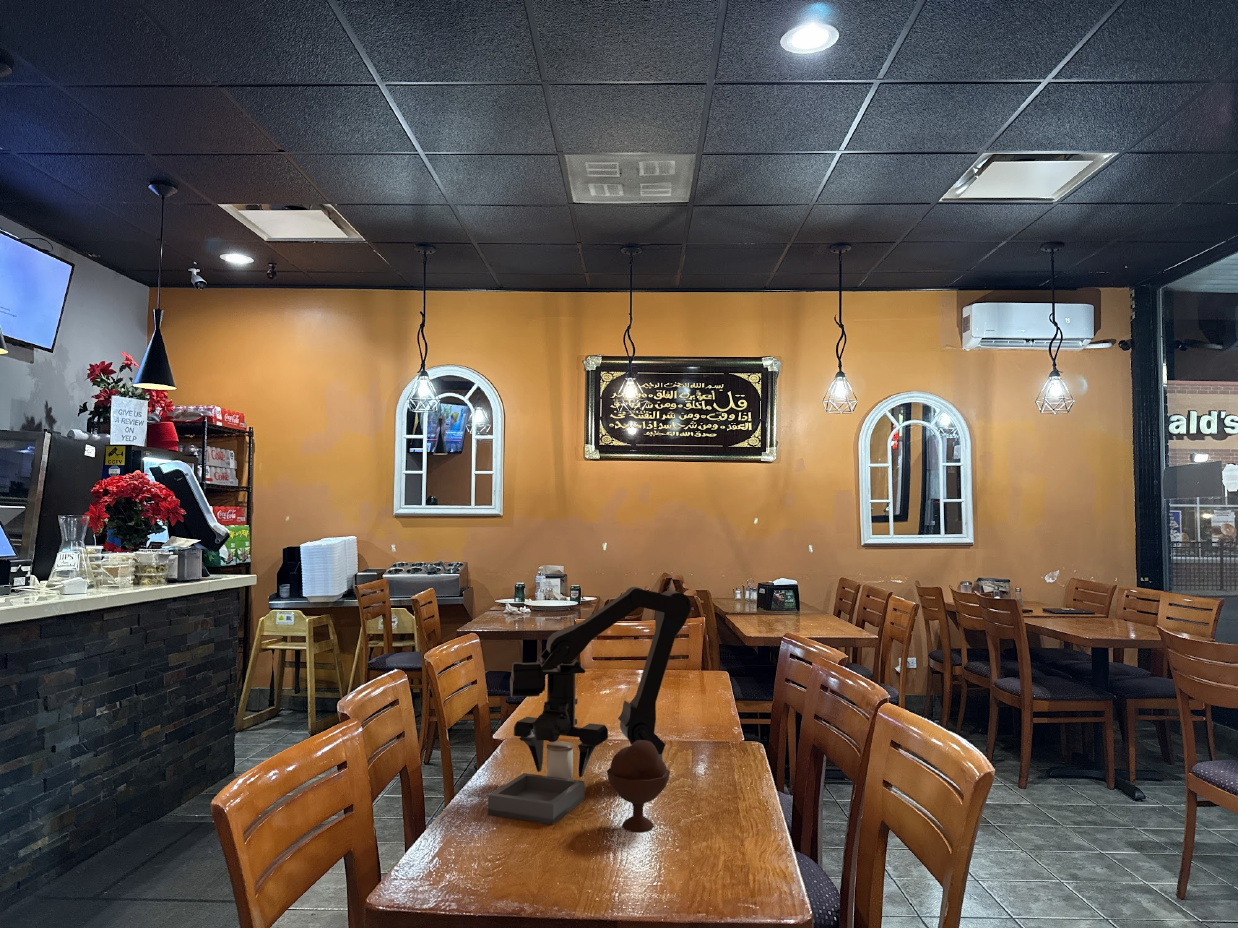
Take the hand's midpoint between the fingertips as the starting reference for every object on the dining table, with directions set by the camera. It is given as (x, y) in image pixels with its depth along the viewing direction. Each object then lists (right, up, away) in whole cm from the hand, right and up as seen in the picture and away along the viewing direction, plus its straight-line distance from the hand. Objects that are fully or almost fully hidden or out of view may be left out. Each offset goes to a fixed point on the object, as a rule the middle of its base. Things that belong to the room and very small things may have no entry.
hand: (559, 773), depth 164 cm
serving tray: (-3, -1, -13) cm, 13 cm away
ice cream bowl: (+15, -1, -22) cm, 27 cm away
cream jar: (0, -2, 0) cm, 2 cm away
